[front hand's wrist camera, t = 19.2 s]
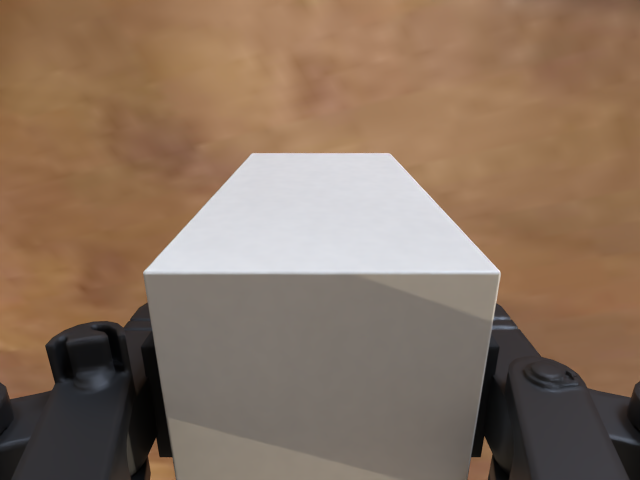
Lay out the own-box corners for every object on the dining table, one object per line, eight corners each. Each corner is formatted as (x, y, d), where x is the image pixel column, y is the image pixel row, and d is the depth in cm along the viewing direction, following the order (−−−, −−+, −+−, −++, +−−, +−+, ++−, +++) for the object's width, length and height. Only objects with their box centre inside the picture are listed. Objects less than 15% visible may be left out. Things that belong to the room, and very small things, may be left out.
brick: (251, 153, 16) (141, 272, 6) (390, 152, 16) (502, 272, 6) (260, 311, 18) (191, 580, 9) (381, 311, 18) (451, 581, 9)
